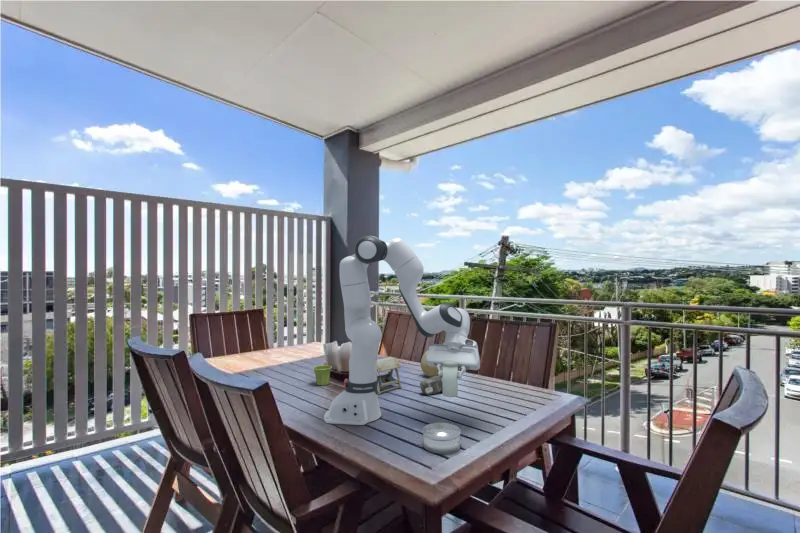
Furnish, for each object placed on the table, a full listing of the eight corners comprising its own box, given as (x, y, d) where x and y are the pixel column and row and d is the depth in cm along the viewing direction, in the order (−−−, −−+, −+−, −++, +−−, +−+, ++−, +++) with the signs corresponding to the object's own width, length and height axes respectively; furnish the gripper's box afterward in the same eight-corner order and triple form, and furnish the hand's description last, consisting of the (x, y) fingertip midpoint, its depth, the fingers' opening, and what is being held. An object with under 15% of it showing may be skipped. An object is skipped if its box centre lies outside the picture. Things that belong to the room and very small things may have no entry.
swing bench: (379, 395, 174) (379, 363, 174) (366, 390, 181) (366, 360, 181) (402, 388, 184) (401, 358, 185) (389, 384, 191) (388, 355, 191)
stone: (435, 406, 170) (425, 387, 169) (424, 404, 176) (414, 386, 175) (452, 386, 179) (443, 368, 178) (442, 385, 185) (432, 368, 184)
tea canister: (443, 397, 134) (443, 363, 134) (441, 392, 139) (441, 360, 140) (459, 397, 134) (459, 363, 134) (456, 392, 140) (456, 359, 140)
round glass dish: (424, 455, 116) (424, 439, 116) (421, 437, 128) (421, 423, 129) (464, 454, 116) (464, 437, 117) (457, 436, 129) (456, 422, 129)
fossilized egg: (432, 372, 213) (432, 345, 214) (449, 376, 204) (448, 349, 204) (416, 376, 205) (415, 348, 206) (432, 381, 196) (431, 352, 196)
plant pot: (311, 383, 195) (311, 366, 195) (329, 380, 199) (329, 364, 199) (315, 387, 186) (315, 370, 187) (334, 385, 190) (333, 368, 191)
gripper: (428, 338, 147) (420, 369, 138) (480, 342, 140) (476, 374, 131) (431, 348, 151) (424, 378, 142) (482, 352, 144) (478, 384, 135)
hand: (449, 376), depth 136 cm, fingers closed on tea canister, 5 cm apart
